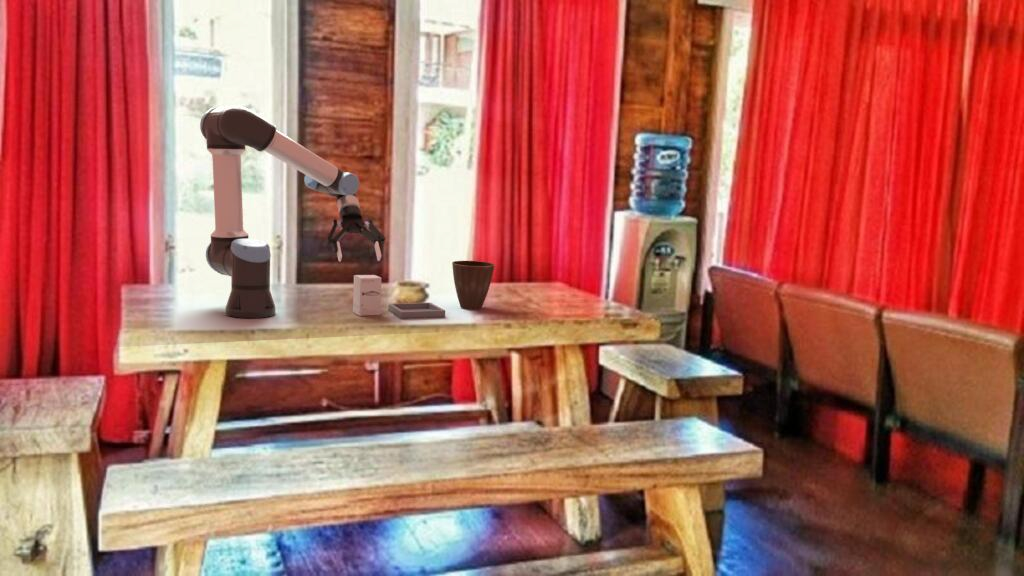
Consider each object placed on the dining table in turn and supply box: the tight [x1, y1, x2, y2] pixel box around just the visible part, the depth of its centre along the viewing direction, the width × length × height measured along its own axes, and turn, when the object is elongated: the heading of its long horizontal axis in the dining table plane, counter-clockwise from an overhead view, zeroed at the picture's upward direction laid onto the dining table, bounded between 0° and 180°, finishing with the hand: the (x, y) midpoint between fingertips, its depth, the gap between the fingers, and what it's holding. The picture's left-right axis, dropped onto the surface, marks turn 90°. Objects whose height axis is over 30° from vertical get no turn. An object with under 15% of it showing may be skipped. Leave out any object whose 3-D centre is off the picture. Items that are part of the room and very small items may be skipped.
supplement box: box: [352, 274, 382, 317], centre depth 265 cm, size 7×7×13 cm
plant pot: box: [451, 260, 495, 311], centre depth 285 cm, size 15×15×16 cm
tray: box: [387, 302, 446, 320], centre depth 270 cm, size 15×15×2 cm
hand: (360, 258), depth 274 cm, fingers open, 13 cm apart
